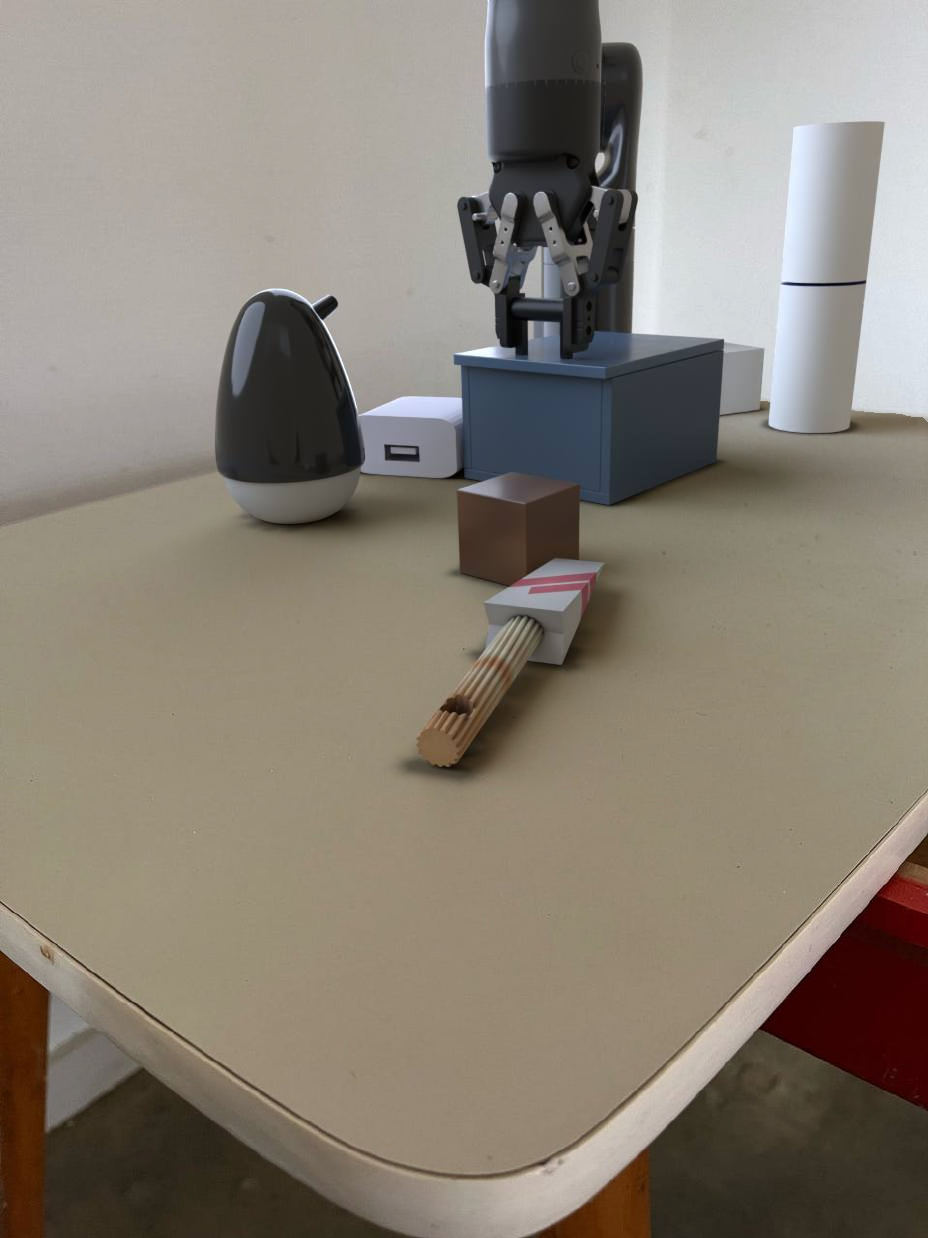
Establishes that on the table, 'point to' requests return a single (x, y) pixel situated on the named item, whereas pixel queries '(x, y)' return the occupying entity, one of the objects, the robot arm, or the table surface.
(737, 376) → the white cube
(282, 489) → the pump dispenser
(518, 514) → the block
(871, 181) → the cylindrical container
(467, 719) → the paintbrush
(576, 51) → the robot arm
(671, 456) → the blue storage bin
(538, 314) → the lid
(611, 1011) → the table surface
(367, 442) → the charger
